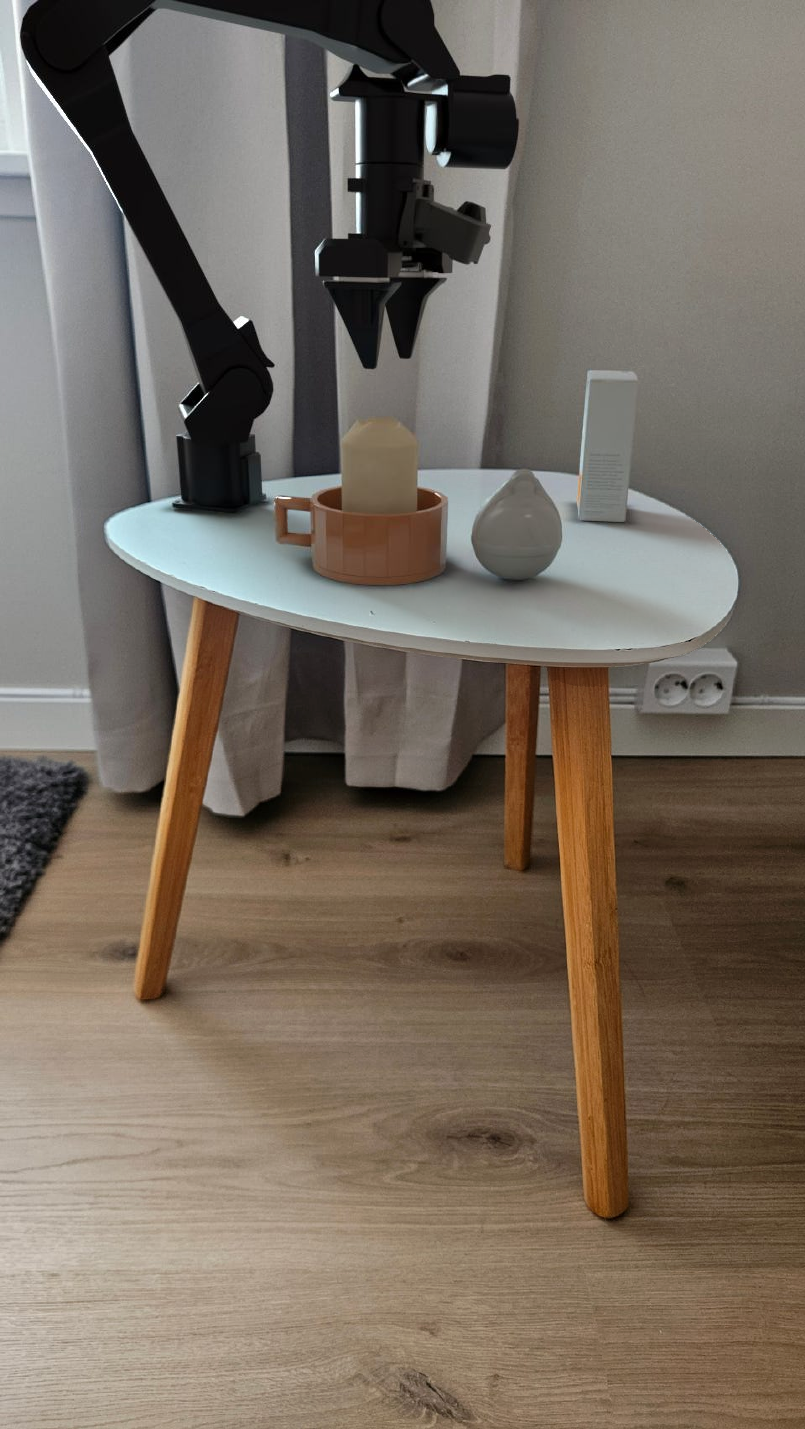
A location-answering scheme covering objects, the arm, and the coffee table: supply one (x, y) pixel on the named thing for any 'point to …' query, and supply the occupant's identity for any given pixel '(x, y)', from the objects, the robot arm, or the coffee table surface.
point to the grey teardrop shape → (517, 529)
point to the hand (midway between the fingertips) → (388, 363)
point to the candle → (379, 467)
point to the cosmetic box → (607, 445)
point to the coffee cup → (369, 538)
